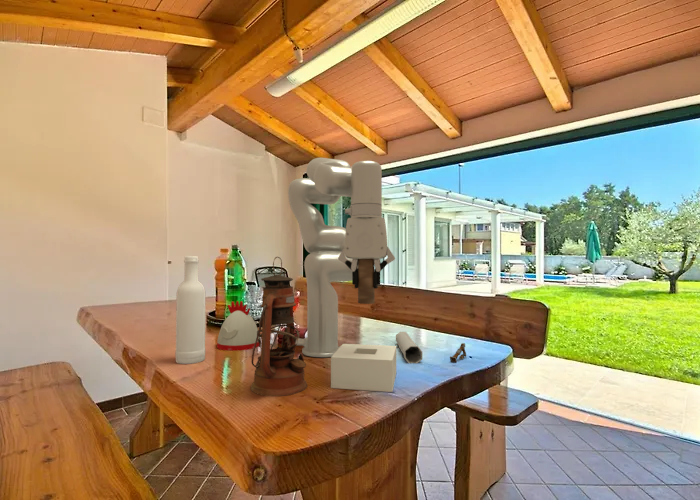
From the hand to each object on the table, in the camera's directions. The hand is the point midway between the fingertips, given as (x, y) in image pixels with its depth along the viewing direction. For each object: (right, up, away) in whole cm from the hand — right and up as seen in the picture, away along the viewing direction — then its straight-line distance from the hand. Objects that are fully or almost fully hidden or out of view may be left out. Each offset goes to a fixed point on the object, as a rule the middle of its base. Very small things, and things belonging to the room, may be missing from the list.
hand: (366, 287), depth 94 cm
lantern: (-20, -23, -5) cm, 31 cm away
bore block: (0, -23, 0) cm, 23 cm away
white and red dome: (-41, -23, +36) cm, 59 cm away
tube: (+14, -24, +27) cm, 39 cm away
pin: (0, -4, 0) cm, 4 cm away
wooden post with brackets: (+28, -23, +19) cm, 41 cm away
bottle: (-50, -23, +17) cm, 57 cm away
